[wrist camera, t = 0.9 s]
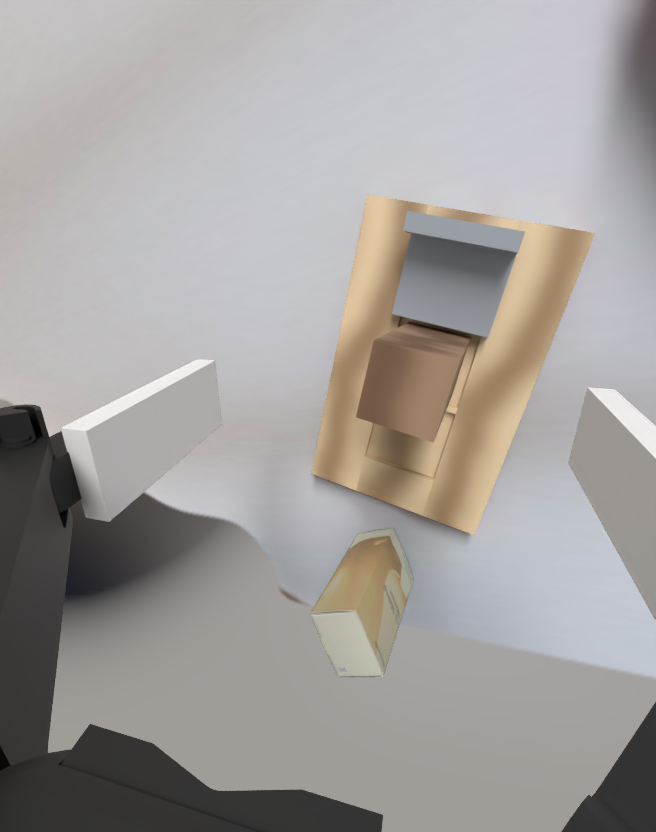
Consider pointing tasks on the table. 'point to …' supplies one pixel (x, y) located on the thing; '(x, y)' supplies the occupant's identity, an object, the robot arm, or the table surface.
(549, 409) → the table surface
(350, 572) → the skincare box
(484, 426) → the puzzle board
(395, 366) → the walnut block
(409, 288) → the slide cover
